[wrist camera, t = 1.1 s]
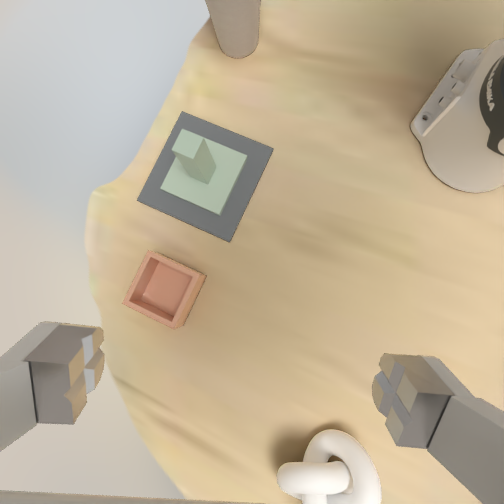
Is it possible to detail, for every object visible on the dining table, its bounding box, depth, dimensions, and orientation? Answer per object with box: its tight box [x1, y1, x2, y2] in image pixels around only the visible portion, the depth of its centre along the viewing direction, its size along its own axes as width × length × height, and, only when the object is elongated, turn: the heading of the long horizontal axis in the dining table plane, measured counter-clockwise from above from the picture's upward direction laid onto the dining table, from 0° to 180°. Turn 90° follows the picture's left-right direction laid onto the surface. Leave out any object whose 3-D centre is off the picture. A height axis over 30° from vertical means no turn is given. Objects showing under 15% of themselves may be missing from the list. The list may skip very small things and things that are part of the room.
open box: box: [122, 250, 207, 329], centre depth 43 cm, size 8×8×4 cm
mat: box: [137, 111, 273, 242], centre depth 47 cm, size 16×16×1 cm
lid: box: [160, 129, 248, 216], centre depth 42 cm, size 10×10×10 cm
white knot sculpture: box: [277, 429, 382, 504], centre depth 37 cm, size 11×12×9 cm
